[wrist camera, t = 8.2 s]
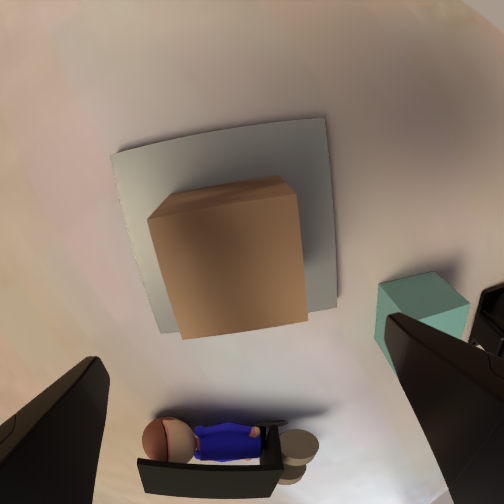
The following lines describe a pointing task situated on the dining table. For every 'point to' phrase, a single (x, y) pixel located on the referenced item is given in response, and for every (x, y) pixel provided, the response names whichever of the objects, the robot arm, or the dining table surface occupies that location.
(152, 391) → the dining table surface
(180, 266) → the walnut block
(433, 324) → the teal block
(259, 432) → the figurine character
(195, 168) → the base plate
